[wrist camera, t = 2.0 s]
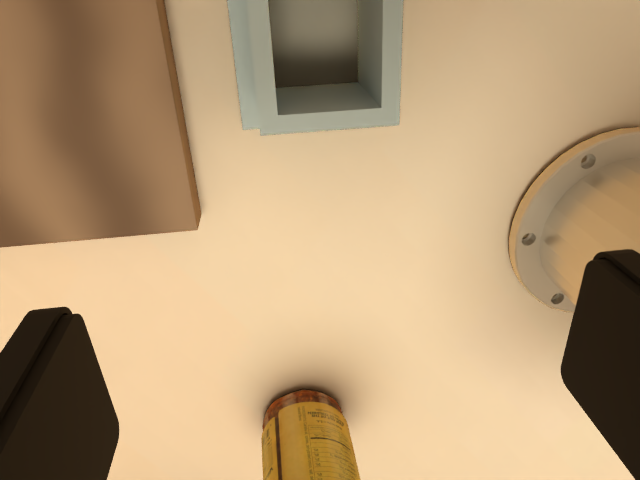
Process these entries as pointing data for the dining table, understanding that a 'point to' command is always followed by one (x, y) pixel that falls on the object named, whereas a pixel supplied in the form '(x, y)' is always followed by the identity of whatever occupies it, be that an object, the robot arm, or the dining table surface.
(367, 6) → the grey bracket housing
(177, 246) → the dining table surface
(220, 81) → the dining table surface
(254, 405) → the dining table surface
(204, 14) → the dining table surface
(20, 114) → the post board
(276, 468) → the sauce bottle
